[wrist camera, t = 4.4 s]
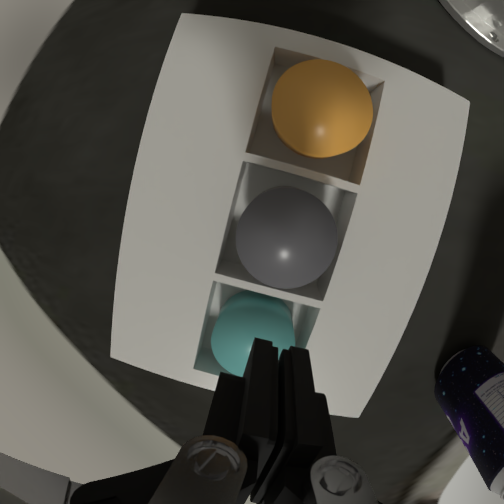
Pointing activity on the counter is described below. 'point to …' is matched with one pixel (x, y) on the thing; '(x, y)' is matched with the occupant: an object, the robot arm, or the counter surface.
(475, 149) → the counter surface
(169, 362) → the panel
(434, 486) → the counter surface
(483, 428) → the beverage can
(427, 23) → the counter surface
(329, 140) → the orange button
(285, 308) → the teal button
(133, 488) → the robot arm
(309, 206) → the charcoal button
